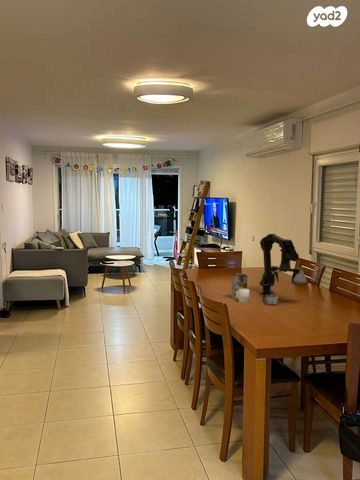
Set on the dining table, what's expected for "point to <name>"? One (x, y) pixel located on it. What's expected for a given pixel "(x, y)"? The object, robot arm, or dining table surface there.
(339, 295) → the dining table surface
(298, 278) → the coffee pot
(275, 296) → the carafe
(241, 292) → the mug
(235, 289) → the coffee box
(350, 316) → the dining table surface
